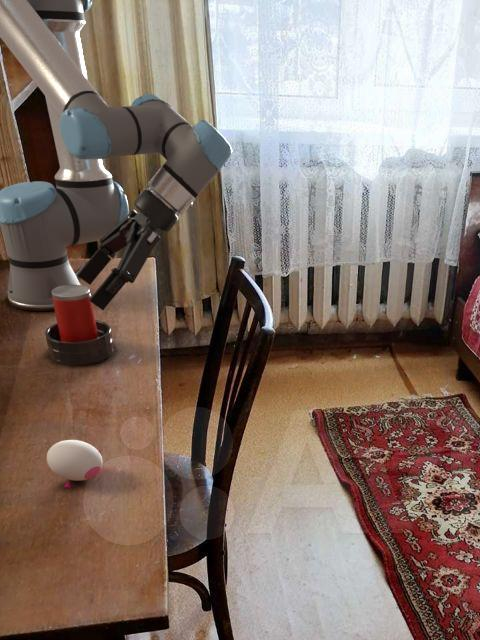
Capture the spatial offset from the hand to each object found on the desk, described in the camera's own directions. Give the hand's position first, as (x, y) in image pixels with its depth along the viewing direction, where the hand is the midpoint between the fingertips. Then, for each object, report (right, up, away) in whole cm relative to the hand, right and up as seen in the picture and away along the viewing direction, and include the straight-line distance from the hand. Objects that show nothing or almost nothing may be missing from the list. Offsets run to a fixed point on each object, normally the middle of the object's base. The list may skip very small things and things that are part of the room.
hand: (89, 292), depth 121 cm
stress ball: (+10, -34, -26) cm, 44 cm away
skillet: (-3, -10, +5) cm, 12 cm away
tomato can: (-3, -9, +5) cm, 11 cm away
